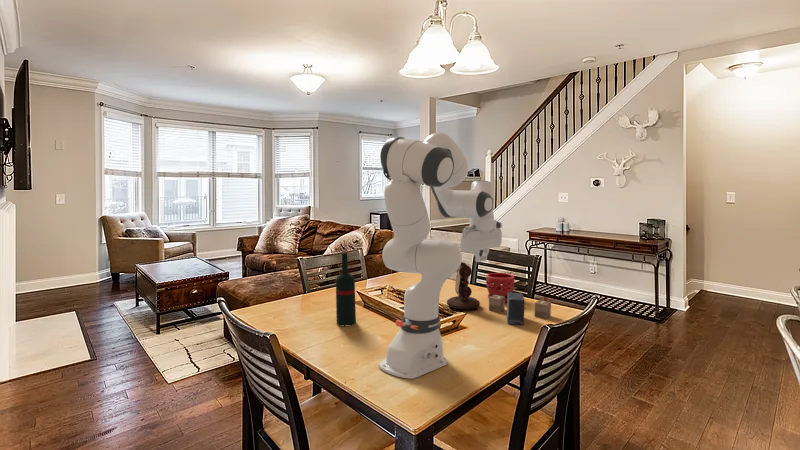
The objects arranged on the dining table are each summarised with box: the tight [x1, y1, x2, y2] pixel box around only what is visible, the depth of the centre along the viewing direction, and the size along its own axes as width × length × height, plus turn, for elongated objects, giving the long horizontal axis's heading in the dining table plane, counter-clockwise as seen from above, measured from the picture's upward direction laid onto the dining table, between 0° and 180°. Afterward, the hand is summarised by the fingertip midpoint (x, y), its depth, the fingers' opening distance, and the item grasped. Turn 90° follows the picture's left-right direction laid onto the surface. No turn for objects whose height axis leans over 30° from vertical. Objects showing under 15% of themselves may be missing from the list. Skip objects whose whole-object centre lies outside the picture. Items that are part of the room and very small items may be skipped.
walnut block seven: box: [488, 295, 506, 313], centre depth 183 cm, size 5×5×6 cm
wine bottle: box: [335, 249, 357, 327], centre depth 168 cm, size 8×10×30 cm
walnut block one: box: [534, 299, 552, 320], centre depth 174 cm, size 5×5×6 cm
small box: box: [506, 292, 526, 326], centre depth 169 cm, size 11×6×10 cm, turn 168°
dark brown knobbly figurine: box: [446, 261, 481, 311], centre depth 187 cm, size 15×15×20 cm
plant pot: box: [485, 272, 515, 303], centre depth 199 cm, size 13×13×12 cm
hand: (481, 261), depth 156 cm, fingers closed
